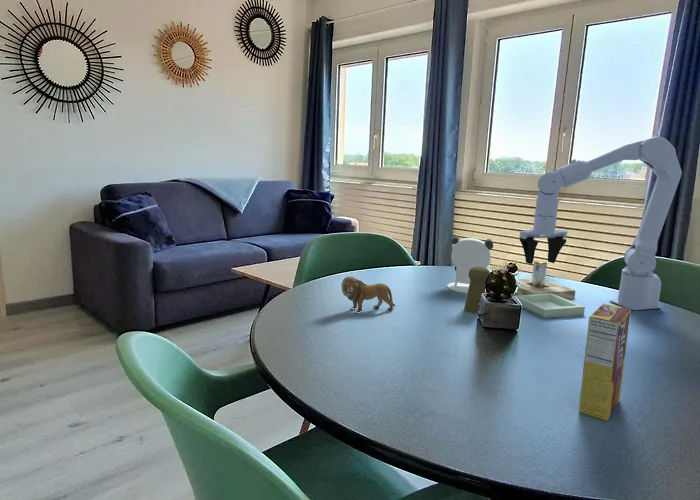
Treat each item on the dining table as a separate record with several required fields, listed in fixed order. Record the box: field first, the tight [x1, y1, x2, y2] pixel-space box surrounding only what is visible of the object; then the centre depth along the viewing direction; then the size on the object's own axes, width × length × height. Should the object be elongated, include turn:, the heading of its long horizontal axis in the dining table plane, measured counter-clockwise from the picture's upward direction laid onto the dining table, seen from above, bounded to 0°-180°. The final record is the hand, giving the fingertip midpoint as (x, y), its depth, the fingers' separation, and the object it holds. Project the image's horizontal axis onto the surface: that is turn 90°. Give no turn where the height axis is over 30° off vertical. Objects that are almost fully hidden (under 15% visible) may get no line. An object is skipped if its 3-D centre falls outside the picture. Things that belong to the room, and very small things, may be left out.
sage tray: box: [515, 293, 586, 319], centre depth 120 cm, size 12×12×2 cm
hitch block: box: [516, 278, 576, 300], centre depth 136 cm, size 14×14×2 cm
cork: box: [463, 267, 491, 315], centre depth 117 cm, size 6×6×11 cm
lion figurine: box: [340, 275, 397, 312], centre depth 114 cm, size 15×5×9 cm, turn 113°
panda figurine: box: [446, 235, 494, 294], centre depth 137 cm, size 12×11×15 cm
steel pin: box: [531, 260, 548, 288], centre depth 135 cm, size 4×4×9 cm
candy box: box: [578, 303, 632, 422], centre depth 71 cm, size 9×4×15 cm, turn 140°
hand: (540, 262), depth 134 cm, fingers open, 7 cm apart
